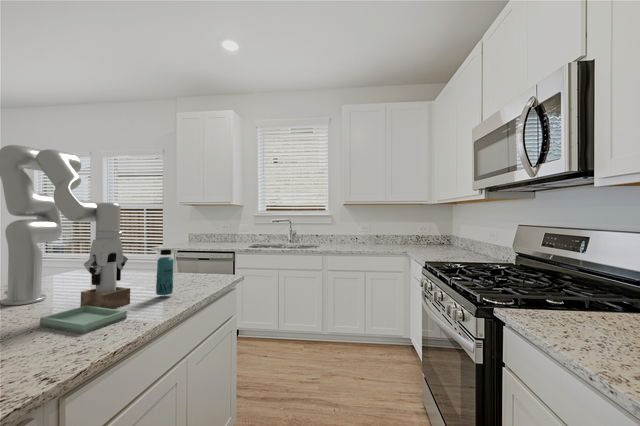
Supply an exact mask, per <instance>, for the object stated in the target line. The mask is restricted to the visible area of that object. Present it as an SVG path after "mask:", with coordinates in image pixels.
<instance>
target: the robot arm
mask: <svg viewBox="0 0 640 426" xmlns="http://www.w3.org/2000/svg"><path fill="white" fill-rule="evenodd" d="M25 169H27V170H32V171H33V170H34V171H40V172H43V173H44V174H45V176H46V178H48V180H49V181H50V182H51V184H52V185H53V186H54V187H55V188H54V190H53V196H52V195H50V194H46V193H36V191H35V188H34V183H33V180H32V179H31V177H30V176H29V174H28V173H26V171H25ZM81 169H82V161H81V160H80V159H79V157H78V156H77V155H75V154H73V153H70V152H66V151H61V150H57V149H52V148H51V149H38V148H35V147H31V146H30V147H29V146H25V145H20V144H19V145H17V144H9V145H5V146H3V147H1V148H0V180H1V184H2V189H3V194H4V200H5V205H6V210H7V212H8V213H9V214H10V215H12V216H15V217H22V218H24V217H25V218H26V219H18V220H17V219H16V220H14V221H11V222H10V223H9V224H8V225H6V227H5V231H4V232H5V239H6V244H7V252H8V253H7V254H8V255H7V257H8V259H7V261H8V262H7V266H8V267H7V290H6V291H5V292H4V294H5V295H6V296H7V297H6V298H4V299H2V300H0V301H1V302H0V304H1V305H3V306H19V305H20V306H22V305H28V304H33V303H34V304H35V303H38V302H41V301H44V300H46V299H47V295H46V294H43V293H42V279H43V275H42V274H43V253H42V250H41V248H40V247H39V245H38V244H43V243H44V244H45V243H53V242H56V241H57V240H59V239H60V238H61V236H62V234H63V226H62V222H61V216H60V213H61V215H62V216H64V218H66V219H67V220H69V221H70V222H74V223H76V222H77V223H78V222H79V223H81V222H82V223H84V222H85V223H86V222H89V223H94V222H95V239H92V243H91V247H90V251H89V252H90V253H89V259H88V260H86V261H85V262H84V263H83V266H84V268H86V270H87V271H88V272H89V274H90V275H91V285H92V286H96V285H100V274H98V273H99V272H100V270H101V268H102V267H104V266H106V263H107V261H108V260H107V259H108V254H111V253H116V261H117V262H116V263H117V271H116V282H117V281H121V279H122V278H121V277H122V275H121V274H122V271H123V268H124V266H125V265H126V263H127V262H128V260H129V259H128V257H127V256H125V255H124V254H123V253H124V251H123V250H124V249H123V243H122V239H121V238H120V237H121V236H122V231H121V208H122V207H121V205H120V204H119V203H117V202H97V201H85V200H84V201H83V200H82V201H81V200H78V199H77V198H76V197H75V195H74V194H73V193H72V191H73V190H75V189H76V188H78V187H80V184H81V183H82V178H81V176H79V174H78V173H79V172H80V170H81ZM27 217H28V218H29V217H31V218H32V217H34V218H35V217H36V219H27ZM96 268H97V269H96Z"/></svg>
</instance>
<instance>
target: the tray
mask: <svg viewBox="0 0 640 426" xmlns="http://www.w3.org/2000/svg"><path fill="white" fill-rule="evenodd" d="M127 316H128V315H127V310H123V309H122V310H120V309H116V308H115V309H108V308H101V307H94V306H87V305H86V306H83V307H76V308H72V309H69V310H64V311H61V312H57V313H54V314H50V315H46V316H43V317H40V318H39V327H43V328H49V329H54V330H61V331H64V332H65V331H66V332H71V333H77V334H81V335H85V334H87V333H89V332H93V331H96V330H99V329H100V328H103V327H106V326H110V325H113V324H116V323H118V322H120V321H123V320H126V319H127Z"/></svg>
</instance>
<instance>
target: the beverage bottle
mask: <svg viewBox="0 0 640 426" xmlns="http://www.w3.org/2000/svg"><path fill="white" fill-rule="evenodd" d="M160 255H161V256H162V257H159V258H158V259H156V260H157V261H156V262H157V264H156V267H157V268H156V276H155V277H156V279H155V280H156V283H155V293H156V295H157V296H168V295H171V294H172V293H173V292H174V261H175V259H173V257H171V255H172V250H171V249H170V248H169V249H165V248H163V249H161V250H160ZM168 255H170V256H168Z"/></svg>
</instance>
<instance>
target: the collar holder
mask: <svg viewBox="0 0 640 426" xmlns="http://www.w3.org/2000/svg"><path fill="white" fill-rule="evenodd" d="M130 304H131V288H130V287H122V286H116V291H114V292H110V293H106V294H104V293H96V288H92V289H87V290H83V291H80V307H83V306H86V305H87V306H94V307H101V308H108V309H114V308H115V309H117V307H118V308H121V307H123V306H124V305H125V306H127V305H130ZM120 306H121V307H120ZM125 306H124V307H125Z"/></svg>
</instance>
